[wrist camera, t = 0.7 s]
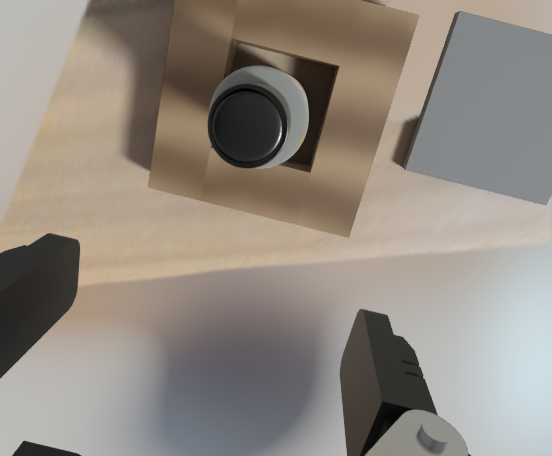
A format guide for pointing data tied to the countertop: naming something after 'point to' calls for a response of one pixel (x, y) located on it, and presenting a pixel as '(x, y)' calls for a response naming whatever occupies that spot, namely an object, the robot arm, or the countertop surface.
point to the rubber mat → (489, 111)
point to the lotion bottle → (258, 117)
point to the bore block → (335, 123)
